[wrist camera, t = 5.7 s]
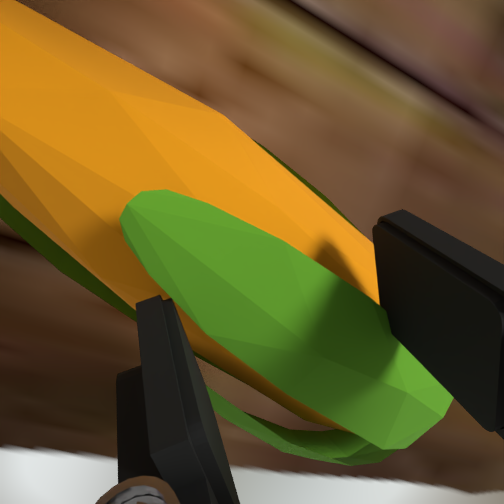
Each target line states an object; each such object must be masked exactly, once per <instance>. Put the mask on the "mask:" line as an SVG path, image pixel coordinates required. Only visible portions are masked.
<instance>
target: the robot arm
mask: <svg viewBox="0 0 504 504" xmlns="http://www.w3.org/2000/svg"><path fill="white" fill-rule="evenodd" d="M372 233H373V243H374V253H375V263H376V273H377V283H378V293H379V303H380V306H381V307H382V308H383V309H384V310H386V312H387V316H388V321H389V325H390V329H391V333H392V335H393V336H394V337H395V338H396V339H397V340H398V341H399V342H400V343H401V344H402V345H403V346H404V347H405V348H406V349H407V350H408V351H409V352H410V353H411V354H412V355H413V356H414V357H415V358H416V359H417V360H418V361H419V362H420V363H421V364H422V365H423V367H424V368H425V369H426V370H427V371H428V372H429V373H430V374H431V375H432V376H433V377H434V378H435V379H436V380H437V381H438V382H439V383H440V384H441V385H442V386H443V387H444V388H445V389H446V390H447V391H448V392H449V393H450V394H451V395H452V396H453V397H454V398H455V399H456V400H457V401H458V402H459V403H460V404H461V405H462V406H463V407H464V408H465V409H466V411H467V412H468V413H469V414H470V415H471V416H472V417H473V418H474V419H475V420H476V421H477V422H478V423H479V424H480V425H481V426H482V427H483V428H484V429H486V430H487V431H489V432H493V431H496V432H497V433H498V434H499V435H500V436H501V437H502V438H503V439H504V265H503V264H501V263H500V262H498V261H496V260H494V259H492V258H491V257H489V256H487V255H485V254H483V253H482V252H480V251H478V250H476V249H474V248H473V247H471V246H469V245H467V244H465V243H464V242H462V241H460V240H458V239H456V238H455V237H453V236H451V235H449V234H447V233H446V232H444V231H442V230H440V229H438V228H437V227H435V226H433V225H431V224H429V223H428V222H426V221H424V220H422V219H420V218H419V217H417V216H415V215H413V214H411V213H410V212H408V211H406V210H403V209H402V210H399V211H396V212H393V213H390V214H387V215H385V216H382V217H380V218H379V219H378V222H377V225H374V227H373V229H372ZM136 316H137V326H138V336H139V347H140V357H141V365H140V366H138V367H135V368H132V369H130V370H127V371H124V372H122V373H119V374H118V375H117V379H116V393H117V446H118V484H117V485H115V486H114V487H113V488H111V489H110V490H109V491H108V492H106V493H105V494H104V495H103V496H101V497H100V499H99V500H98V501H97V502H96V504H240V502H239V499H238V495H237V492H236V488H235V484H234V481H233V477H232V474H231V470H230V467H229V463H228V460H227V456H226V453H225V449H224V446H223V442H222V439H221V435H220V432H219V428H218V425H217V421H216V418H215V414H214V411H213V407H212V404H211V400H210V397H209V394H208V391H207V388H206V385H205V382H204V380H203V377H202V375H201V372H200V369H199V367H198V364H197V362H196V359H195V356H194V354H193V351H192V348H191V346H190V343H189V341H188V338H187V335H186V333H185V330H184V328H183V325H182V322H181V320H180V317H179V315H178V312H177V309H176V307H175V304H174V302H173V299H172V298H169V299H166V300H163V299H162V297H161V295H157V296H155V297H152V298H149V299H146V300H143V301H140V302H138V303H136Z"/></svg>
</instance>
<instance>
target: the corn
mask: <svg viewBox="0 0 504 504" xmlns="http://www.w3.org/2000/svg"><path fill="white" fill-rule="evenodd" d="M0 218H1V219H2V220H3V221H4V222H5V223H6V224H8V225H9V226H10V227H11V228H12V229H13V230H14V231H15V232H17V233H18V234H19V235H20V236H21V237H22V238H23V239H24V240H26V241H27V242H28V243H29V244H30V245H31V246H32V247H34V248H35V249H36V250H37V251H38V252H39V253H40V254H41V255H43V256H44V257H45V258H46V259H47V260H48V261H49V262H51V263H52V264H53V265H54V266H55V267H56V268H57V269H58V270H60V271H61V272H62V273H64V274H65V275H67V276H68V277H70V278H71V279H73V280H74V281H76V282H77V283H79V284H80V285H82V286H83V287H85V288H86V289H88V290H89V291H91V292H92V293H94V294H95V295H97V296H98V297H100V298H101V299H103V300H104V301H106V302H107V303H109V304H110V305H112V306H113V307H115V308H116V309H118V310H119V311H121V312H122V313H124V314H125V315H127V316H128V317H130V318H131V319H133V320H134V321H136V322H137V316H136V303H138V302H140V301H143V300H146V299H149V298H152V297H155V296H157V295H161V297H162V299H163V300H166V299H169V298H172V299H173V302H174V304H175V307H176V309H177V312H178V315H179V317H180V320H181V322H182V325H183V328H184V330H185V333H186V335H187V338H188V341H189V343H190V346H191V348H192V351H193V354H194V356H196V357H198V358H200V359H202V360H203V361H205V362H207V363H209V364H211V365H213V366H214V367H216V368H218V369H220V370H222V371H224V372H225V373H227V374H229V375H231V376H233V377H235V378H236V379H238V380H240V381H242V382H244V383H246V384H247V385H249V386H251V387H252V388H254V389H256V390H257V391H259V392H260V393H262V394H264V395H265V396H267V397H268V398H270V399H272V400H273V401H275V402H276V403H278V404H280V405H281V406H283V407H284V408H286V409H288V410H289V411H291V412H292V413H294V414H296V415H297V416H299V417H300V418H302V419H304V420H306V421H309V422H313V423H317V424H320V425H324V426H328V427H331V428H335V430H328V431H306V430H290V429H287V428H284V427H282V426H279V425H277V424H274V423H271V422H269V421H266V420H264V419H261V418H259V417H256V416H253V415H251V414H248V413H246V412H243V411H241V410H240V409H238V408H237V407H235V406H234V405H232V404H231V403H230V402H228V401H227V400H226V399H224V398H223V397H221V396H220V395H219V394H217V393H216V392H214V391H213V390H212V389H210V388H209V387H208V386H206V388H207V391H208V394H209V397H210V400H211V404H212V407H213V410H215V411H216V412H217V413H218V414H219V415H221V416H222V417H223V418H224V419H226V420H228V421H230V422H231V423H233V424H235V425H237V426H238V427H240V428H242V429H244V430H246V431H247V432H249V433H251V434H253V435H254V436H256V437H258V438H260V439H261V440H263V441H265V442H267V443H268V444H270V445H272V446H274V447H275V448H277V449H279V450H281V451H282V452H286V453H290V454H294V455H298V456H302V457H306V458H311V459H315V460H321V461H327V462H332V463H338V464H344V465H350V466H353V465H361V464H369V463H377V462H381V461H382V460H384V459H385V458H386V457H388V456H389V455H391V454H392V453H394V452H395V451H396V450H398V449H404V448H407V447H408V446H409V445H410V444H412V443H413V442H414V441H415V440H416V439H418V438H419V437H420V436H421V435H423V434H424V433H425V432H426V431H427V430H429V429H430V428H431V427H432V426H433V425H435V424H436V423H437V422H438V421H440V420H441V419H442V418H443V417H444V415H445V413H446V411H447V409H448V407H449V405H450V403H451V401H452V400H453V398H454V397H453V396H452V395H451V394H450V393H449V392H448V391H447V390H446V389H445V388H444V387H443V386H442V385H441V384H440V383H439V382H438V381H437V380H436V379H435V378H434V377H433V376H432V375H431V374H430V373H429V372H428V371H427V370H426V369H425V368H424V367H423V365H422V364H421V363H420V362H419V361H418V360H417V359H416V358H415V357H414V356H413V355H412V354H411V353H410V352H409V351H408V350H407V349H406V348H405V347H404V346H403V345H402V344H401V343H400V342H399V341H398V340H397V339H396V338H395V337H394V336H393V335H392V333H391V329H390V325H389V321H388V316H387V312H386V310H384V309H383V308H382V307H381V306H380V303H379V293H378V283H377V273H376V263H375V253H374V244H373V243H372V242H371V241H369V240H368V239H367V238H366V237H365V236H364V235H363V234H362V233H361V232H360V231H359V230H358V229H357V228H356V227H355V226H354V225H353V224H352V223H351V222H350V221H349V220H348V219H347V218H346V217H345V216H344V215H343V214H342V213H341V212H340V211H339V210H338V208H337V207H336V206H335V205H334V204H333V203H332V202H331V201H330V200H329V199H328V198H327V197H326V196H325V195H323V194H322V193H321V192H320V191H318V190H317V189H316V188H315V187H313V186H312V185H311V184H310V183H308V182H307V181H306V180H305V179H303V178H302V177H301V176H300V175H299V174H297V173H296V172H295V171H294V170H292V169H291V168H290V167H289V166H287V165H286V164H285V163H284V162H282V161H281V160H280V159H279V158H277V157H276V156H275V155H274V154H273V153H271V152H270V151H269V150H268V149H266V148H265V147H264V146H262V145H261V144H259V143H257V142H256V141H254V140H253V139H251V138H250V137H248V136H247V135H246V134H245V133H244V132H243V131H241V130H240V129H239V128H238V127H237V126H236V125H234V124H233V123H232V122H231V121H230V120H229V119H227V118H226V117H225V116H224V115H222V114H221V113H219V112H217V111H215V110H213V109H212V108H210V107H208V106H206V105H204V104H203V103H201V102H199V101H197V100H195V99H193V98H192V97H190V96H188V95H186V94H184V93H183V92H181V91H179V90H177V89H175V88H173V87H172V86H170V85H168V84H166V83H164V82H163V81H161V80H159V79H157V78H155V77H154V76H152V75H150V74H148V73H146V72H144V71H143V70H141V69H139V68H137V67H135V66H134V65H132V64H130V63H128V62H126V61H124V60H123V59H121V58H119V57H117V56H115V55H114V54H112V53H110V52H108V51H106V50H105V49H103V48H101V47H99V46H97V45H95V44H94V43H92V42H90V41H88V40H86V39H85V38H83V37H81V36H79V35H77V34H75V33H74V32H72V31H70V30H68V29H66V28H65V27H63V26H61V25H59V24H57V23H56V22H54V21H52V20H50V19H48V18H46V17H45V16H43V15H41V14H39V13H37V12H36V11H34V10H32V9H30V8H28V7H26V6H25V5H23V4H21V3H19V2H17V1H16V0H0Z"/></svg>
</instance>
